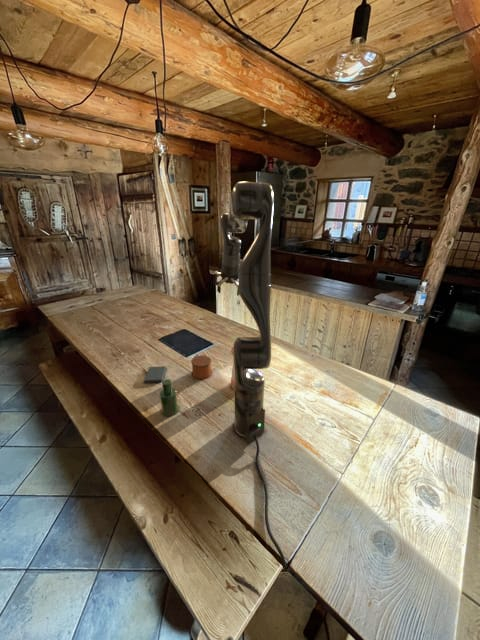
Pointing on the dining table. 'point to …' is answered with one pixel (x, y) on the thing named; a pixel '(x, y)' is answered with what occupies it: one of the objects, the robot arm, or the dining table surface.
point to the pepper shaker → (233, 372)
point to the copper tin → (201, 367)
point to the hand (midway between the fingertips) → (228, 293)
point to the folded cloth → (155, 374)
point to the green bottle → (168, 399)
